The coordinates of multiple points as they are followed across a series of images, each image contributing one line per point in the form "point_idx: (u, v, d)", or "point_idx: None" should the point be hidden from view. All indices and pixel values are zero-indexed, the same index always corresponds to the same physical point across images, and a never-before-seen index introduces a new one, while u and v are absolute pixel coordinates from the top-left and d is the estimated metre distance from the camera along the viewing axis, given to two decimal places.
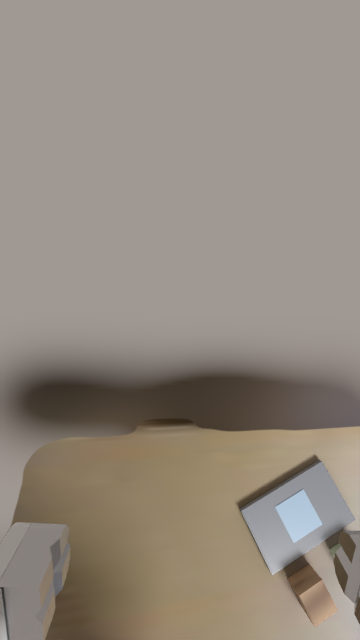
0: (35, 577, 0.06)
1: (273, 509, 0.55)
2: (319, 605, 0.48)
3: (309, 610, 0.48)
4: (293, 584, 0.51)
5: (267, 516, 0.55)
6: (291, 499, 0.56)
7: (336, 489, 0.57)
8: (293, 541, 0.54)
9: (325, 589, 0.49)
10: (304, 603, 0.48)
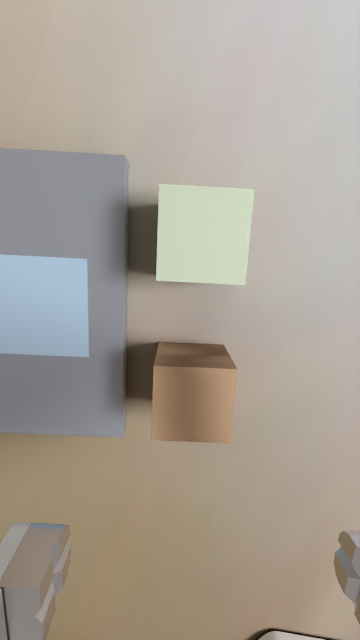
0: (35, 577, 0.06)
1: None
2: (199, 407, 0.17)
3: (193, 435, 0.17)
4: None
5: (5, 380, 0.20)
6: None
7: (25, 155, 0.17)
8: (84, 355, 0.20)
9: (178, 370, 0.16)
10: (173, 437, 0.17)
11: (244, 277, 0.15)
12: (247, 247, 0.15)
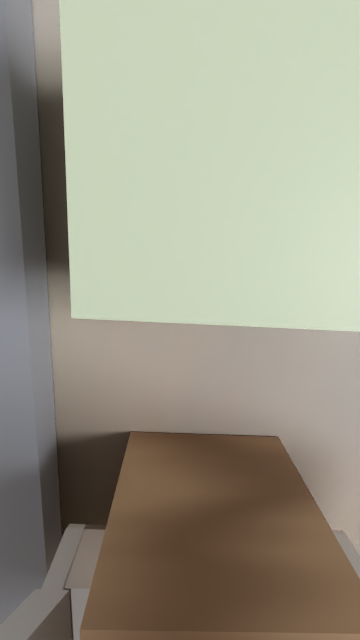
0: None
1: None
2: None
3: None
4: None
5: None
6: None
7: None
8: None
9: None
10: None
11: None
12: None
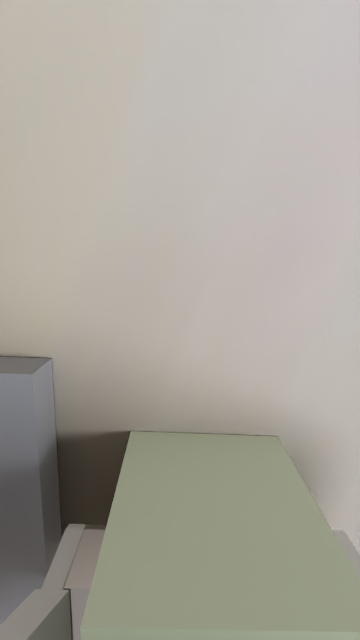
0: None
1: None
2: None
3: None
4: None
5: None
6: None
7: None
8: None
9: None
10: None
11: None
12: None
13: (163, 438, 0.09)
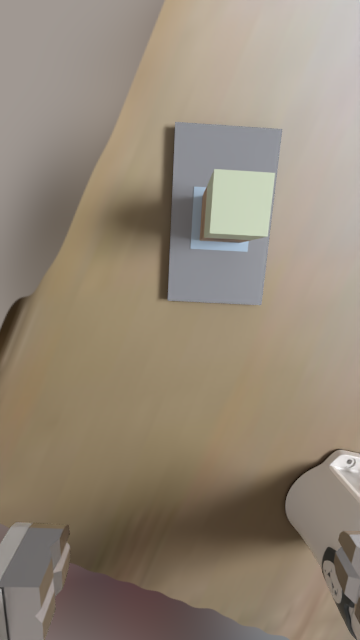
0: (35, 577, 0.06)
1: (192, 252, 0.33)
2: None
3: None
4: (201, 236, 0.31)
5: (195, 267, 0.34)
6: (197, 215, 0.33)
7: (226, 128, 0.31)
8: (245, 250, 0.33)
9: None
10: None
11: (267, 231, 0.23)
12: (269, 211, 0.23)
13: None
